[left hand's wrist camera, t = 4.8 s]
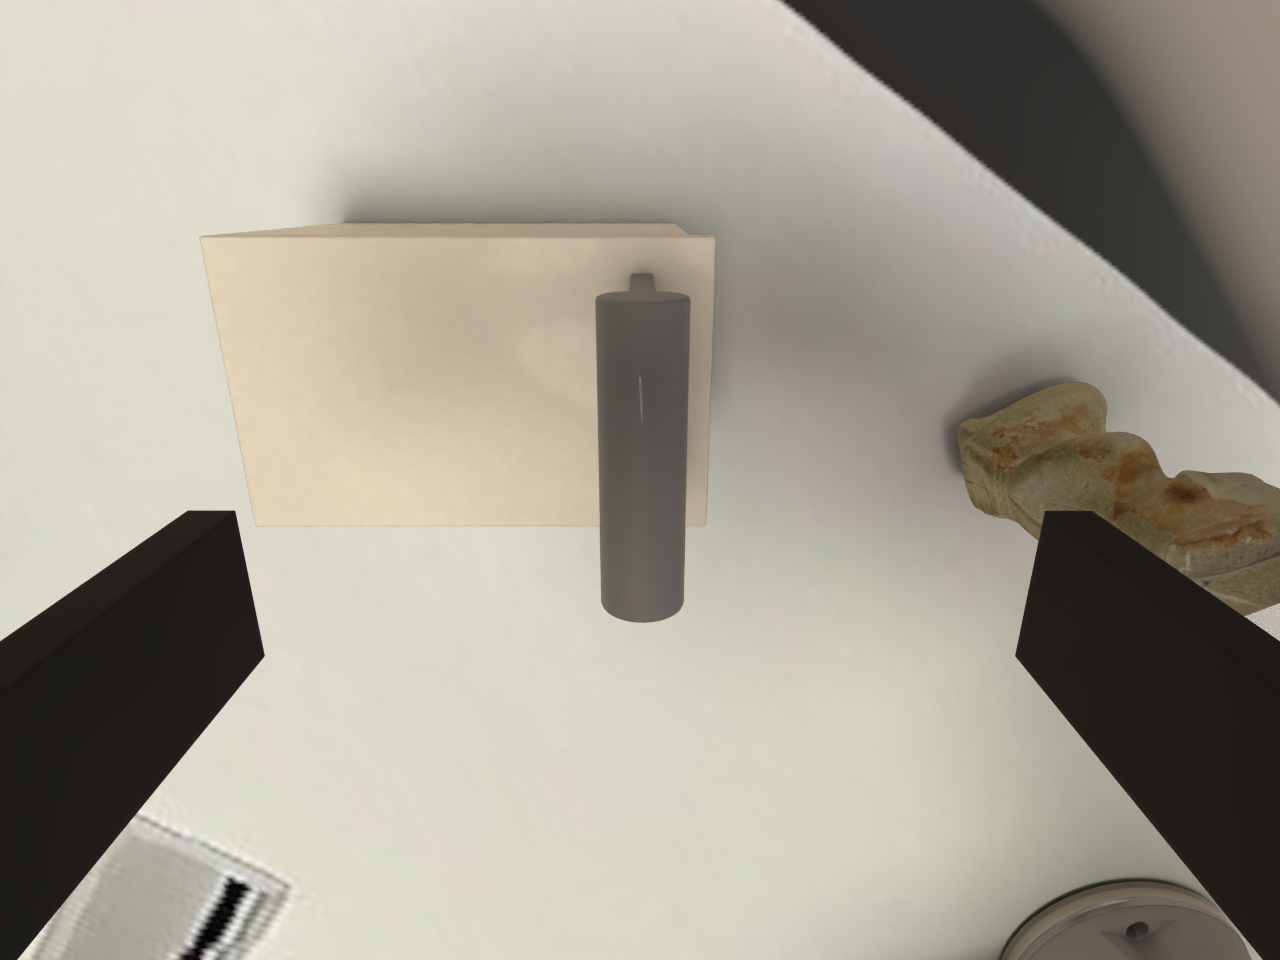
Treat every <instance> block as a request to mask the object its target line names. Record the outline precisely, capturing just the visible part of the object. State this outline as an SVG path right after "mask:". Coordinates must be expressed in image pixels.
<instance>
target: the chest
mask: <svg viewBox="0 0 1280 960" xmlns="http://www.w3.org/2000/svg"><path fill="white" fill-rule="evenodd" d="M220 235H689V234H688V233H686V232H685V231H684V230H683V229H681V228H680V227H679V226H677V225H676V224H674V223H339V224H328V225H318V226H307V227H296V228H285V229H274V230H264V231H253V232H242V233H231V234H220Z"/></svg>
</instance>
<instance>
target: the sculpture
mask: <svg viewBox="0 0 1280 960" xmlns="http://www.w3.org/2000/svg"><path fill="white" fill-rule="evenodd" d="M1106 413H1107V406H1106V401H1105V398H1104V396H1103V395H1102V393H1101V392H1100V391H1099V390H1097V389H1096V388H1095V387H1093V386H1092V385H1089V384H1086V383H1079V382H1073V383H1062V384H1057V385H1054V386H1050V387H1047V388H1045V389H1042V390H1040V391H1038V392H1035V393H1033V394H1031V395H1029V396H1027V397H1025V398H1023V399H1021V400H1019V401H1017V402H1015V403H1013V404H1011V405H1009V406H1007V407H1006V408H1004V409H1002V410H1000V411H998V412H996V413H994V414H992V415H989V416H987V417H984V418H980V419H978V418H970V419H968V420H966V421H964V422H962V423H961V424H960V425H959V426H958V428H957V440H958V446H959V450H960V451H961V452H960V453H961V462H962V467H963V473H964V478H965V483H966V487H967V490H968V493H969V496H970V499H971V501H972V503H973V505H974V506H975V507H976V508H978V509H980V510H982V511H983V512H984V513H986V514H989V515H992V516H995V517H999V518H1006V519H1011V520H1013V521H1015V522H1017V523H1019V524H1020V525H1021V526H1022V527H1023V528H1024V529H1025V530H1026V531H1027V532H1028V533H1030V534H1031V535H1032V536H1033V537H1035V538H1036V539H1037V540H1038V541H1039V537H1040V532H1041V527H1042V522H1043V517H1044V512H1045V511H1093V512H1095V513H1096V514H1098V515H1099V516H1100V517H1102V518H1103V519H1105V520H1106V521H1108V522H1109V523H1111V524H1112V525H1113V526H1115V527H1116V528H1118V529H1119V530H1121V531H1122V532H1123V533H1125V534H1126V535H1128V536H1129V537H1131V538H1132V539H1134V540H1135V541H1136V542H1138V543H1139V544H1141V545H1142V546H1144V547H1145V548H1146V549H1148V550H1149V551H1151V552H1152V553H1154V554H1155V555H1156V556H1158V557H1159V558H1161V559H1162V560H1164V561H1165V562H1167V563H1168V564H1169V565H1171V566H1172V567H1174V568H1175V569H1177V570H1178V571H1179V572H1181V573H1182V574H1184V575H1185V576H1187V577H1188V578H1189V579H1191V580H1192V581H1194V582H1195V583H1197V584H1198V585H1200V586H1201V587H1202V588H1204V589H1205V590H1207V591H1208V592H1210V593H1211V594H1212V595H1214V596H1215V597H1217V598H1218V599H1220V600H1221V601H1223V602H1224V603H1225V604H1227V605H1228V606H1230V607H1231V608H1233V609H1234V610H1235V611H1237V612H1238V613H1240V614H1241V615H1243V616H1247V615H1249V614H1252V613H1254V612H1257V611H1260V610H1262V609H1265V608H1267V607H1270V606H1273V605H1275V604H1278V603H1280V489H1279V488H1276V487H1274V486H1271V485H1269V484H1267V483H1265V482H1264V481H1262V480H1261V479H1259V478H1257V477H1256V476H1254V475H1252V474H1246V473H1212V474H1211V473H1205V472H1198V471H1188V470H1186V471H1182V472H1180V473H1179V474H1178V475H1177V476H1176V477H1175V478H1168V477H1166V475H1165V474H1164V473H1163V472H1162V469H1161V467H1160V465H1159V462H1158V460H1157V457H1156V454H1155V452H1154V451H1153V449H1152V448H1151V446H1150V445H1149V444H1148V443H1147V442H1146V441H1145V440H1144V439H1142V438H1141V437H1139V436H1136V435H1134V434H1131V433H1126V432H1109V433H1106V432H1105V422H1106Z"/></svg>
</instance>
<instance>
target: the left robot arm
mask: <svg viewBox="0 0 1280 960" xmlns="http://www.w3.org/2000/svg"><path fill="white" fill-rule="evenodd" d="M264 656H265V655H264V650H263V645H262V640H261V635H260V630H259V625H258V621H257V616H256V611H255V606H254V601H253V596H252V591H251V586H250V581H249V576H248V571H247V567H246V562H245V557H244V552H243V547H242V542H241V537H240V532H239V527H238V522H237V517H236V512H235V511H187V512H185V513H184V514H182V515H181V516H180V517H178V518H177V519H175V520H174V521H172V522H171V523H169V524H168V525H167V526H165V527H164V528H162V529H161V530H159V531H158V532H157V533H155V534H154V535H152V536H151V537H149V538H148V539H146V540H145V541H144V542H142V543H141V544H139V545H138V546H136V547H135V548H134V549H132V550H131V551H129V552H128V553H126V554H125V555H124V556H122V557H121V558H119V559H118V560H116V561H115V562H113V563H112V564H111V565H109V566H108V567H106V568H105V569H103V570H102V571H101V572H99V573H98V574H96V575H95V576H93V577H92V578H91V579H89V580H88V581H86V582H85V583H83V584H82V585H80V586H79V587H78V588H76V589H75V590H73V591H72V592H70V593H69V594H68V595H66V596H65V597H63V598H62V599H60V600H59V601H57V602H56V603H55V604H53V605H52V606H50V607H49V608H47V609H46V610H45V611H43V612H42V613H40V614H39V615H37V616H36V617H35V618H33V619H32V620H30V621H29V622H27V623H26V624H24V625H23V626H22V627H20V628H19V629H17V630H16V631H14V632H13V633H12V634H10V635H9V636H7V637H6V638H4V639H3V640H1V641H0V960H17V959H18V958H19V957H20V956H21V954H22V953H23V952H24V951H25V949H26V948H27V947H28V946H29V945H30V943H31V942H32V941H33V940H34V938H35V937H36V936H37V935H38V934H39V932H40V931H41V930H42V929H43V927H44V926H45V925H46V924H47V922H48V921H49V920H50V919H51V918H52V916H53V915H54V914H55V913H56V911H57V910H58V909H59V908H60V907H61V905H62V904H63V903H64V902H65V900H66V899H67V898H68V897H69V895H70V894H71V893H72V892H73V891H74V889H75V888H76V887H77V886H78V884H79V883H80V882H81V881H82V880H83V878H84V877H85V876H86V875H87V873H88V872H89V871H90V870H91V869H92V867H93V866H94V865H95V864H96V862H97V861H98V860H99V859H100V857H101V856H102V855H103V854H104V853H105V851H106V850H107V849H108V848H109V846H110V845H111V844H112V843H113V842H114V840H115V839H116V838H117V837H118V835H119V834H120V833H121V832H122V830H123V829H124V828H125V827H126V826H127V824H128V823H129V822H130V821H131V819H132V818H133V817H134V816H135V815H136V813H137V812H138V811H139V810H140V808H141V807H142V806H143V805H144V804H145V802H146V801H147V800H148V799H149V797H150V796H151V795H152V794H153V792H154V791H155V790H156V789H157V788H158V786H159V785H160V784H161V783H162V781H163V780H164V779H165V778H166V777H167V775H168V774H169V773H170V772H171V770H172V769H173V768H174V767H175V765H176V764H177V763H178V762H179V761H180V759H181V758H182V757H183V756H184V754H185V753H186V752H187V751H188V750H189V748H190V747H191V746H192V745H193V743H194V742H195V741H196V740H197V739H198V737H199V736H200V735H201V734H202V732H203V731H204V730H205V729H206V727H207V726H208V725H209V724H210V723H211V721H212V720H213V719H214V718H215V716H216V715H217V714H218V713H219V712H220V710H221V709H222V708H223V707H224V705H225V704H226V703H227V702H228V700H229V699H230V698H231V697H232V696H233V694H234V693H235V692H236V691H237V689H238V688H239V687H240V686H241V685H242V683H243V682H244V681H245V680H246V678H247V677H248V676H249V675H250V673H251V672H252V671H253V670H254V669H255V667H256V666H257V665H258V664H259V662H260V661H261V660H262V659H263V658H264ZM1015 656H1016V658H1017V659H1018V660H1019V661H1020V662H1021V664H1022V665H1023V666H1024V667H1025V669H1026V670H1027V671H1028V672H1029V673H1030V675H1031V676H1032V677H1033V678H1034V680H1035V681H1036V682H1037V683H1038V685H1039V686H1040V687H1041V688H1042V689H1043V691H1044V692H1045V693H1046V694H1047V696H1048V697H1049V698H1050V699H1051V700H1052V702H1053V703H1054V704H1055V705H1056V707H1057V708H1058V709H1059V710H1060V712H1061V713H1062V714H1063V715H1064V716H1065V718H1066V719H1067V720H1068V721H1069V723H1070V724H1071V725H1072V726H1073V727H1074V729H1075V730H1076V731H1077V732H1078V734H1079V735H1080V736H1081V737H1082V739H1083V740H1084V741H1085V742H1086V743H1087V745H1088V746H1089V747H1090V748H1091V750H1092V751H1093V752H1094V753H1095V754H1096V756H1097V757H1098V758H1099V759H1100V761H1101V762H1102V763H1103V764H1104V765H1105V767H1106V768H1107V769H1108V770H1109V772H1110V773H1111V774H1112V775H1113V777H1114V778H1115V779H1116V780H1117V781H1118V783H1119V784H1120V785H1121V786H1122V788H1123V789H1124V790H1125V791H1126V792H1127V794H1128V795H1129V796H1130V797H1131V799H1132V800H1133V801H1134V802H1135V804H1136V805H1137V806H1138V807H1139V808H1140V810H1141V811H1142V812H1143V813H1144V815H1145V816H1146V817H1147V818H1148V819H1149V821H1150V822H1151V823H1152V824H1153V826H1154V827H1155V828H1156V829H1157V830H1158V832H1159V833H1160V834H1161V835H1162V837H1163V838H1164V839H1165V840H1166V842H1167V843H1168V844H1169V845H1170V846H1171V848H1172V849H1173V850H1174V851H1175V853H1176V854H1177V855H1178V856H1179V857H1180V859H1181V860H1182V861H1183V862H1184V864H1185V865H1186V866H1187V867H1188V869H1189V870H1190V871H1191V872H1192V873H1193V875H1194V876H1195V877H1196V878H1197V880H1198V881H1199V882H1200V883H1201V884H1202V886H1203V887H1204V888H1205V889H1206V891H1207V892H1208V893H1209V894H1210V895H1211V897H1212V898H1213V899H1214V900H1215V902H1216V903H1217V904H1218V905H1219V907H1220V908H1221V909H1222V910H1223V911H1224V913H1225V914H1226V915H1227V916H1228V918H1229V919H1230V920H1231V921H1232V922H1233V924H1234V925H1235V926H1236V927H1237V929H1238V930H1239V931H1240V932H1241V934H1242V935H1243V936H1244V937H1245V938H1246V940H1247V941H1248V942H1249V943H1250V945H1251V946H1252V947H1253V948H1254V949H1255V951H1256V952H1257V953H1258V954H1259V956H1260V957H1261V958H1262V959H1263V960H1280V641H1279V640H1277V639H1276V638H1274V637H1273V636H1271V635H1270V634H1268V633H1267V632H1266V631H1264V630H1263V629H1261V628H1260V627H1258V626H1257V625H1256V624H1254V623H1253V622H1251V621H1250V620H1248V619H1247V618H1245V617H1244V616H1243V615H1241V614H1240V613H1238V612H1237V611H1235V610H1234V609H1233V608H1231V607H1230V606H1228V605H1227V604H1225V603H1224V602H1223V601H1221V600H1220V599H1218V598H1217V597H1215V596H1214V595H1212V594H1211V593H1210V592H1208V591H1207V590H1205V589H1204V588H1202V587H1201V586H1200V585H1198V584H1197V583H1195V582H1194V581H1192V580H1191V579H1189V578H1188V577H1187V576H1185V575H1184V574H1182V573H1181V572H1179V571H1178V570H1177V569H1175V568H1174V567H1172V566H1171V565H1169V564H1168V563H1167V562H1165V561H1164V560H1162V559H1161V558H1159V557H1158V556H1156V555H1155V554H1154V553H1152V552H1151V551H1149V550H1148V549H1146V548H1145V547H1144V546H1142V545H1141V544H1139V543H1138V542H1136V541H1135V540H1134V539H1132V538H1131V537H1129V536H1128V535H1126V534H1125V533H1123V532H1122V531H1121V530H1119V529H1118V528H1116V527H1115V526H1113V525H1112V524H1111V523H1109V522H1108V521H1106V520H1105V519H1103V518H1102V517H1100V516H1099V515H1098V514H1096V513H1095V512H1093V511H1045V512H1044V517H1043V522H1042V527H1041V532H1040V537H1039V542H1038V547H1037V552H1036V557H1035V562H1034V566H1033V571H1032V576H1031V581H1030V586H1029V591H1028V596H1027V601H1026V606H1025V611H1024V616H1023V621H1022V625H1021V630H1020V635H1019V640H1018V645H1017V650H1016V655H1015ZM1001 960H1252V959H1251V957H1250V955H1249V953H1248V951H1247V949H1246V946H1245V944H1244V942H1243V941H1242V939H1241V938H1240V936H1239V935H1238V934H1237V933H1236V931H1235V930H1234V929H1233V928H1232V926H1231V925H1230V924H1229V923H1228V922H1227V920H1226V919H1225V918H1224V917H1223V915H1222V914H1221V913H1220V912H1219V911H1218V910H1217V908H1216V907H1215V906H1214V905H1212V904H1211V903H1210V902H1209V901H1208V900H1206V899H1204V898H1203V897H1201V896H1200V895H1198V894H1196V893H1194V892H1192V891H1189V890H1187V889H1184V888H1181V887H1178V886H1174V885H1170V884H1164V883H1158V882H1142V881H1136V882H1121V883H1113V884H1108V885H1103V886H1098V887H1095V888H1091V889H1088V890H1084V891H1081V892H1079V893H1076V894H1073V895H1071V896H1069V897H1066V898H1064V899H1062V900H1060V901H1058V902H1056V903H1055V904H1053V905H1051V906H1049V907H1048V908H1046V909H1045V910H1043V911H1042V912H1040V913H1039V914H1037V915H1036V916H1035V917H1034V918H1032V919H1031V920H1030V921H1029V922H1028V923H1026V924H1025V925H1024V926H1023V927H1022V928H1021V929H1020V930H1019V932H1018V933H1017V934H1016V935H1015V936H1014V938H1013V939H1012V940H1011V942H1010V943H1009V945H1008V946H1007V948H1006V950H1005V952H1004V954H1003V956H1002V959H1001Z"/></svg>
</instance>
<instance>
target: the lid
mask: <svg viewBox="0 0 1280 960" xmlns="http://www.w3.org/2000/svg"><path fill="white" fill-rule="evenodd" d="M200 244H201V249H202V254H203V259H204V264H205V270H206V275H207V280H208V285H209V290H210V295H211V300H212V305H213V311H214V316H215V321H216V326H217V331H218V336H219V341H220V347H221V352H222V357H223V362H224V367H225V372H226V377H227V382H228V388H229V393H230V398H231V403H232V408H233V413H234V418H235V424H236V429H237V434H238V439H239V444H240V449H241V454H242V459H243V465H244V470H245V475H246V480H247V485H248V490H249V495H250V501H251V506H252V511H253V516H254V521H255V525H256V526H600V560H601V602H602V605H603V607H604V609H605V610H606V611H607V612H608V613H609V614H611V615H612V616H614V617H616V618H619V619H621V620H625V621H630V622H642V623H644V622H655V621H660V620H664V619H667V618H669V617H671V616H673V615H675V614H676V613H677V612H678V611H679V610H680V609H681V607H682V605H683V602H684V565H685V526H706V520H707V490H708V460H709V431H710V401H711V371H712V342H713V312H714V283H715V253H716V238H715V237H714V236H712V235H209V236H201V237H200Z"/></svg>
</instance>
